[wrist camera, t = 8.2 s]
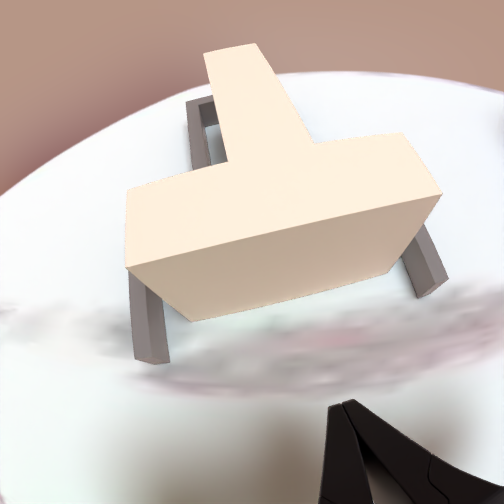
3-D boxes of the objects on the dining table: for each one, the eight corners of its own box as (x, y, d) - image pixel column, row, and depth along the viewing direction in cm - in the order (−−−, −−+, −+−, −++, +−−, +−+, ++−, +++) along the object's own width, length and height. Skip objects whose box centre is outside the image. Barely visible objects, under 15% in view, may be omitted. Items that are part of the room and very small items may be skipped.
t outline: (430, 293, 16) (448, 278, 13) (154, 364, 16) (134, 359, 13) (325, 97, 25) (326, 76, 22) (145, 137, 25) (136, 117, 22)
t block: (387, 273, 17) (442, 193, 10) (191, 322, 17) (125, 267, 10) (312, 119, 23) (315, 36, 16) (174, 149, 23) (142, 71, 16)
